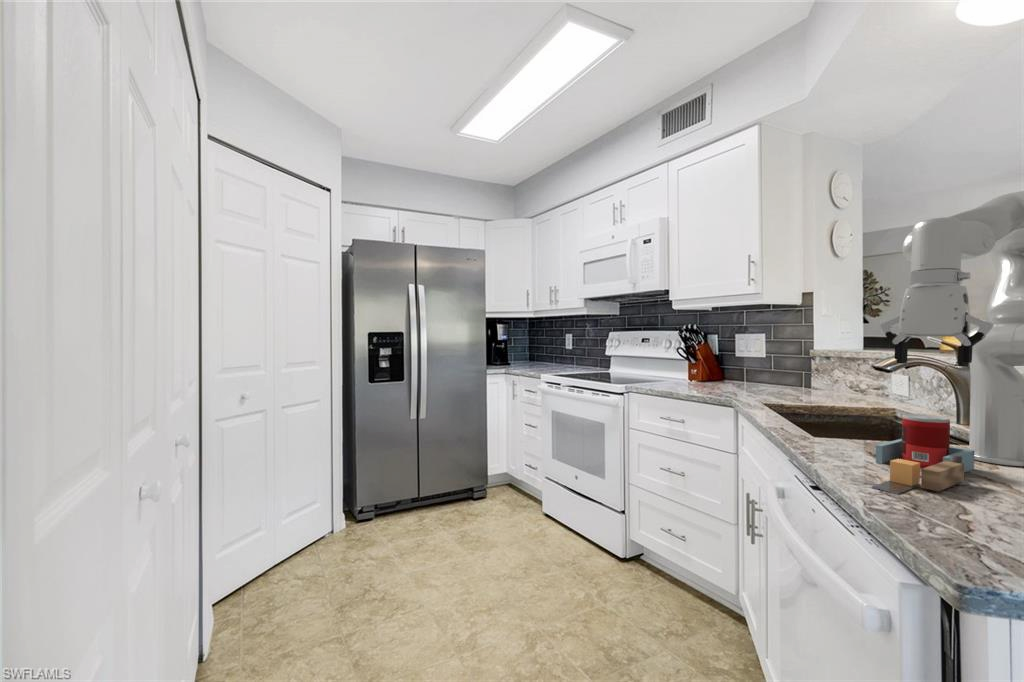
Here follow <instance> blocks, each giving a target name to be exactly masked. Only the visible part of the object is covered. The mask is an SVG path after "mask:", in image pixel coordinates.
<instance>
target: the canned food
mask: <svg viewBox="0 0 1024 682" xmlns="http://www.w3.org/2000/svg"><path fill="white" fill-rule="evenodd" d="M901 417H902V418H901V419H902V420H901V439H902V458H901V459H903V460H908V461H913V462H918V463H920V469H923V468H926V467H929V466H932V465H935V464H938V463H941V462H943V457H945V456H948V455H949V448H950V447H951V446H950V445H951V438H950V437H951V434H950V433H951V420H950V418H949V417H946V416H942V415H934V414H925V413H924V414H923V413H903V414H902V416H901Z"/></svg>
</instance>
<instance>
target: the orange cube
mask: <svg viewBox="0 0 1024 682" xmlns="http://www.w3.org/2000/svg"><path fill="white" fill-rule="evenodd" d="M889 480H890V481H892V482H896V483H900V484H905V485H909V486H914V485H916V484H921V468H920V463H918V462H913V461H908V460H903V459H902V458H900V459H895V460H892V461H889Z"/></svg>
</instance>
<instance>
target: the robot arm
mask: <svg viewBox="0 0 1024 682" xmlns="http://www.w3.org/2000/svg"><path fill="white" fill-rule="evenodd" d="M901 249H902V254H903V256H904V258H905V259H906V260H907V261H908V262H909V263H910V281H909V282H910V284H909V287H906V289H905V292H904V295H903V298H902V303H901V307H900V313H899V316H897V317H895V318H892V319H890V320H887V321H885V322H882V323H881V324H880V328H881V330H882V331H883V333H884V334H885V337H886V338H887V339H888V340H890V342H892V344H893V345H894V360H896V363H897V364H907V363H908V351H909V350H908V348H909V346H908V345H907V344H906V342H908V341H909V340H910V339H911V338H912V337H940V338H941V337H946V338H947V337H948V338H950V337H952V338H955V339H956V340H957V341H959V343H960V345H959V346H958V347H957V349H958V350H957V366H958V367H962V368H968V367H969V370H970V373H969V374H970V394H969V395H970V396H969V397H970V401H969V402H970V403H969V405H970V406H969V446H968V447H964V448H962V449H968V450H974V461H979V462H983V463H990V464H995V465H1001V466H1002V465H1003V466H1012V467H1024V376H1023V374H1022V373H1020V371H1018V369H1016V367H1024V190H1021V191H1015V192H1011V193H1006V194H1002V195H999V196H997V197H994V198H992V199H990V200H988V201H986V202H984V203H982V204H981V205H979V206H977V207H975V208H972V209H969V210H965V211H962V212H959V213H956V214H953V215H951V216H948V217H947V216H946V217H934V218H929V219H925V220H922V221H918V222H917V223H916V224H915V225H914V226H913V228H912V231H910V232H909V234H907V236H906V237H905V239H904V241H903V243H902V248H901ZM988 253H989V255H990V257H991V261H992V263H993V265H994V268H995V270H996V273H997V274H996V275H997V276H996V280H995V283H994V286H993V289H992V292H991V294H990V298H989V301H988V302H987V303H988V304H987V306H986V307H987V309H986V317H987V320H988V321H987V320H984V319H982V318H979V317H975V316H973V315H971V312H970V311H971V310H970V302H969V301H970V299H969V295H968V290H967V286H966V285H961V284H962V283H963V281H965V280H970V279H971V275H972V274H971V272H965V271H963V270H961V269H962V260H970V259H976V258H981V257H983V256H985V255H987V254H988ZM898 325H899V326H898ZM971 325H975V326H977V327H975V328H972V329H971ZM895 326H898V329H899V334H897V333H895V332H894V329H893V327H895Z"/></svg>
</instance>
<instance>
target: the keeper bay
mask: <svg viewBox="0 0 1024 682" xmlns="http://www.w3.org/2000/svg"><path fill="white" fill-rule="evenodd" d="M950 455H957V456H961V457H962V463H964V473H966V472H970V471H971V470H974V469H975V460H974V450H968V449H963V448H961V447H957V446H956V447H955V446H950V448H949V455H948V456H945V457H943V461H946V460H949V457H950ZM901 457H902V438H898V439H895V440H891V441H887V442H883V443H879V444H875V463H876V462H878V463H877V464H881V463H883V464H886V463H889V462H890V461H891V460H894V459H898V458H900V459H902V458H901ZM888 461H889V462H888ZM885 462H886V463H885Z"/></svg>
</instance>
